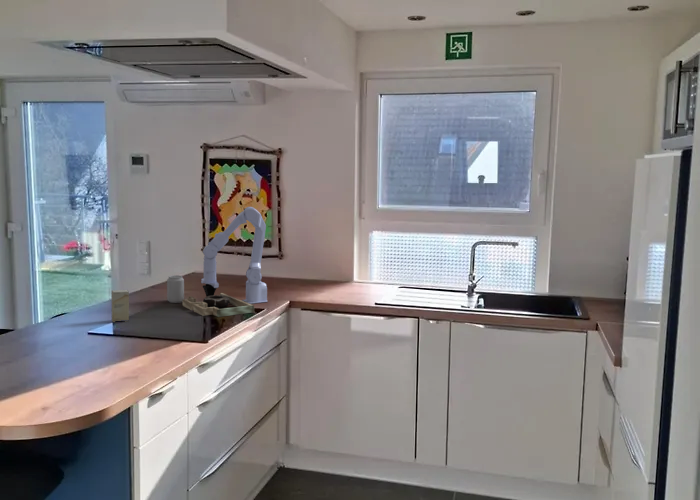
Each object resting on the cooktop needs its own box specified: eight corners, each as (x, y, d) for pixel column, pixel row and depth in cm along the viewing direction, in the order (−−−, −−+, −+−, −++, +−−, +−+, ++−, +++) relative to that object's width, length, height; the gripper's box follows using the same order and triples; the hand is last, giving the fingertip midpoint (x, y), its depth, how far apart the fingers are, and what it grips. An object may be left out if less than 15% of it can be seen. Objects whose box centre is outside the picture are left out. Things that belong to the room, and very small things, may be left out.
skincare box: (112, 322, 248) (112, 292, 247) (111, 320, 252) (110, 290, 251) (129, 321, 251) (129, 291, 250) (127, 318, 255) (127, 289, 254)
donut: (197, 306, 280) (197, 298, 280) (212, 302, 291) (212, 293, 291) (220, 309, 276) (220, 300, 276) (234, 304, 287) (234, 296, 287)
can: (179, 304, 285) (179, 277, 283) (164, 302, 286) (164, 276, 285) (186, 300, 292) (186, 275, 290) (171, 299, 293) (171, 274, 292)
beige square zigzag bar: (222, 299, 298) (222, 292, 297) (254, 312, 273) (254, 305, 273) (178, 303, 285) (178, 297, 284) (207, 318, 260) (207, 311, 260)
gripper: (195, 269, 290) (195, 298, 292) (208, 274, 279) (208, 304, 281) (209, 268, 295) (209, 297, 296) (223, 273, 283) (222, 302, 285)
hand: (209, 300), depth 289 cm, fingers closed
